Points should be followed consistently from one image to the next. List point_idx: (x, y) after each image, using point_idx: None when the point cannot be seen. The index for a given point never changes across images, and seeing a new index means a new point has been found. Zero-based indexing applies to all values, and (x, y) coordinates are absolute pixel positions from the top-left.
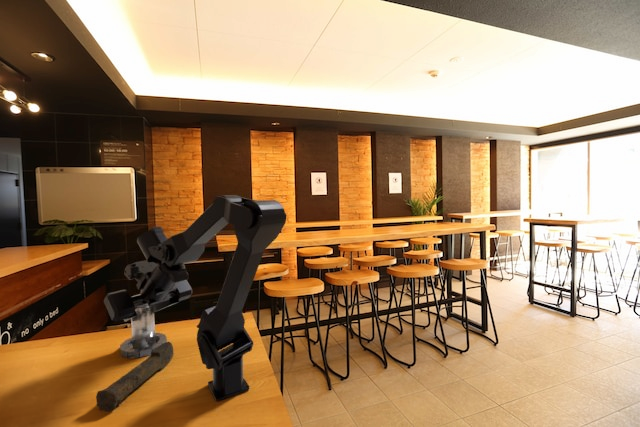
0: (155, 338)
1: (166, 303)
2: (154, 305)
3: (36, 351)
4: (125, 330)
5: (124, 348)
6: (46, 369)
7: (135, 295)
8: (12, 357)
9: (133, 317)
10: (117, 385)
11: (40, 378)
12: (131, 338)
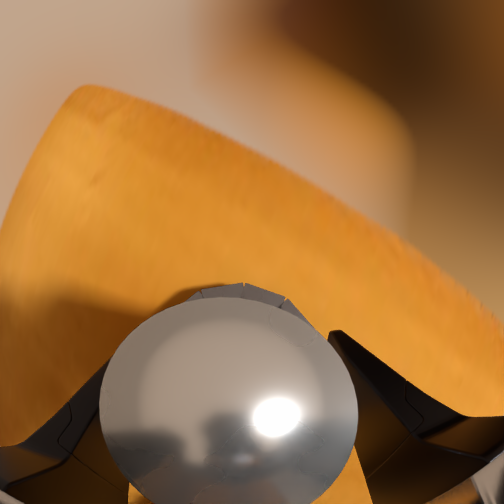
0: None
1: (376, 485)
2: (343, 356)
3: (74, 135)
4: (258, 164)
5: None
6: (33, 253)
7: (201, 304)
8: (48, 135)
9: (125, 488)
10: None
11: (15, 291)
12: (218, 294)
